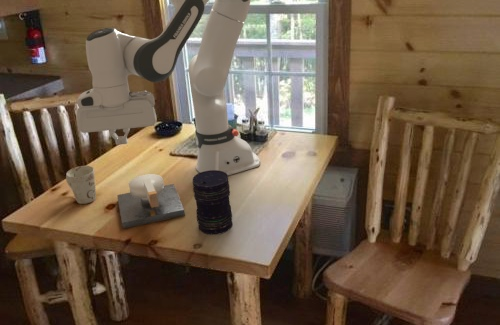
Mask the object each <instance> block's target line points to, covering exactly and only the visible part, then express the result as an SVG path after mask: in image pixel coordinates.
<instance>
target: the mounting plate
mask: <svg viewBox="0 0 500 325" xmlns="http://www.w3.org/2000/svg"><path fill="white" fill-rule="evenodd" d="M116 197H117V202H118V207H119V214H120V215H119V216H120V220H121V226H122V229H128V228H134V227H137V226H142V225H146V224H147V225H148V224H152V223H157V222H160V221H161V222H162V221H166V220H170V219H175V218H180V217H184V216H186V211H185V208H184V206H183V203H182V201H181V198H180V196H179V194H178V191H177V189H176V186H175V183H172V184H166V185H164V190H163V192H162V193H160V194H159V195H157V197H158V203H159V206H157V207H153V208H151V206H150V203H149V200H148V198H144V199H141V198H135V197H133V196H132V195H131V193H130V192H126V193H122V194H121V193H120V194H117V195H116Z"/></svg>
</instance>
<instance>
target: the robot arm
mask: <svg viewBox="0 0 500 325" xmlns="http://www.w3.org/2000/svg"><path fill="white" fill-rule="evenodd" d="M209 1H210V0H170V3H171V5H173V7H174V8H175V11H174V13H173V15H172V17H171V18H170V19H169V21H168V23H167V24H166V25H165V27H164V29H163V31H162V32H161V33H160V34H159V35H158V36H157V37H154V38H152V39H150V38H144V37H141V36H135V35H130V34H127V33H123V32H121V31H118V30H117V29H116V28H114V27H103V28H100V29H97V30H94V31H92V32H91V33H89V34H88V36H87V37H86V40H85V52H86V54H85V55H86V60H87V65H88V69H89V70H88V71H89V72H90V73H91V77H92V88H91V89H89V90H85V91H83V92H82V93H80V95H78V97H77V99H76V105H77V107H78V108H77V109H76V124H77V130H78V131H79V132H80V133H83V134H84V133H85V134H86V133H94V132H95V133H96V132H104V131H108V134H109V135H110V136H111V138H112V139H113V140H114V141H115V145H116V146H117V145H128V135H129V133H130V129H134V128H144V127H153V126H155V125H156V123H157V114H156V113H157V112H156V109H155V104H156V101H155V96H154V94H153V93H152V92H149V91H147V90H142V91H130V86H129V80H128V79H129V76H132V75H135V76H137V77H140V78H142V79H144V80H147V81H149V82H150V83H161V82H163V81H165V80H167V79H168V78H169V77H170V76H171V75H172V74H173V72H174V70H175V67H176V65H177V62H178V58H179V56H180V53H181V51H182V50H183V48H184V47H185V45H186V44H187V41H188V40H189V38H190V37H191V36H192V34H193V32H194V30H195V29H196V27H197V25H199V22H200V20H201V18H202V17H203V15H204V12H205V7H206V5H207V3H208V2H209ZM251 2H252V1H251V0H214V1H213V5H212V7H211V10H210V12H209V15H208V18H207V20H206V21H207V22H206V24H205V27H204V30H203V32H202V37H201V40H200V41H201V42H200V45H199V48H198V52H197V54H195V55H194V56H193V57H192V58H191V60H190V61H189V64H188V77H189V85H190V91H191V98H192V105H193V112H194V120H195V122H194V123H195V134H194V135H195V142H196V146H197V159H196V160H197V162H196V166H195V169H196V171H197V172H198V173H201V172H204V171H210V170H218V171H223V172H225V173H226V174H227V175H228V176H231V175H234V174H237V173H241V172H244V171H247V170H251V169H255V168H257V167H259V166H260V164H261V160H260V158H259V156H258V155H257V154H256V153H255V152H254V151H252V147H251V146H250V144H249V143H248V142H247V141H246V140H244V139H242V138H240V137H238V136H239V134H240V133H239V130H237V129H236V128H234V127H233V126H231V125H230V124H229V119H228V118H229V117H228V105H227V100H226V94H225V87H226V83H227V79H228V76H229V72H230V69H231V66H232V62H233V58H234V53H235V50H236V46H237V43H238V42H239V38H240V35H241V33H242V31H243V27H244V25H245V21H246V19H247V16H248V13H249V9H250V6H251ZM116 130H122V132H123V133H124V135H121V136H119V135H118V134H117V133H116Z"/></svg>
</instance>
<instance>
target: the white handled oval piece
mask: <svg viewBox="0 0 500 325" xmlns="http://www.w3.org/2000/svg"><path fill="white" fill-rule="evenodd" d="M164 186H165V185H164V179H163V177H162V176H161V175H159V174H154V173H149V174H148V173H147V174H141V175H137V176H136V177H134V178H132V179H131V180H129V183H128V187H129V191H130V192H129V193H131V195H132V196H133V197H135V198H141V199H144V198H148V200H149V203H150V206H151V208H153V207H157V206H159V203H158V197H157V195H159V194H160V193H162V192H163V190H164Z"/></svg>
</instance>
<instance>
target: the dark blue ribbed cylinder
mask: <svg viewBox="0 0 500 325" xmlns="http://www.w3.org/2000/svg"><path fill="white" fill-rule="evenodd" d="M192 191H193V197H194V199H195V204H196V220H197V223H198V230H199V231H200V232H201V233H202V234H204V235H205V234H206V235H212V236H213V235H215V236H216V235H221V234H224V233H226V232H228V231H229V230H231V229H232V227H233V212H232V206H231V202H230V195H231V191H230V183H229V175H227V174H226V173H225V172H223V171H218V170H210V171H204V172H201V173H200V172H198V173H196V174H195V175H194V176H193V177H192Z"/></svg>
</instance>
